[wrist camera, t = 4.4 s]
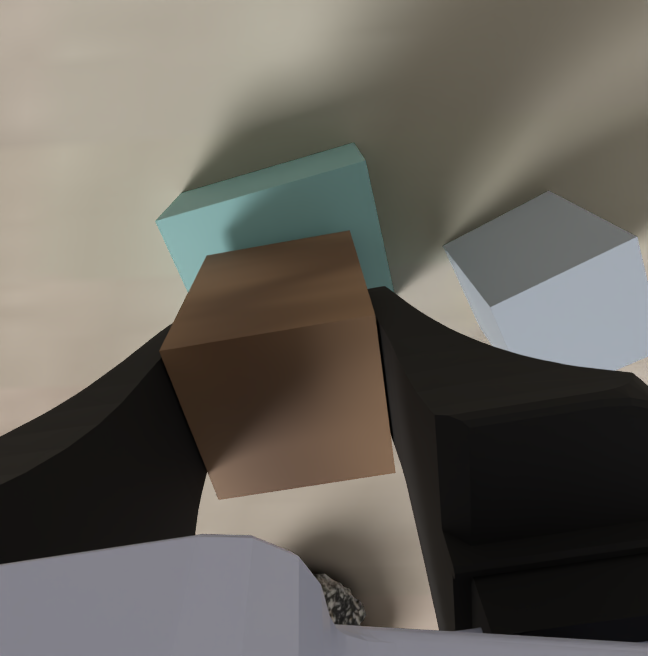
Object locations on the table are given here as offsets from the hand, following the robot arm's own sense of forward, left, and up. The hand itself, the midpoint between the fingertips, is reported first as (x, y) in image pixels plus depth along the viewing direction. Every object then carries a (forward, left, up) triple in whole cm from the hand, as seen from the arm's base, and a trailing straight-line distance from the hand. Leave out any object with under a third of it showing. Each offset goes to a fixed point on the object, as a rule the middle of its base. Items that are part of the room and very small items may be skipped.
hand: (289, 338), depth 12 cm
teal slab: (0, 0, -6) cm, 6 cm away
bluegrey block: (-8, +2, -6) cm, 10 cm away
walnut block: (0, 0, -2) cm, 2 cm away
